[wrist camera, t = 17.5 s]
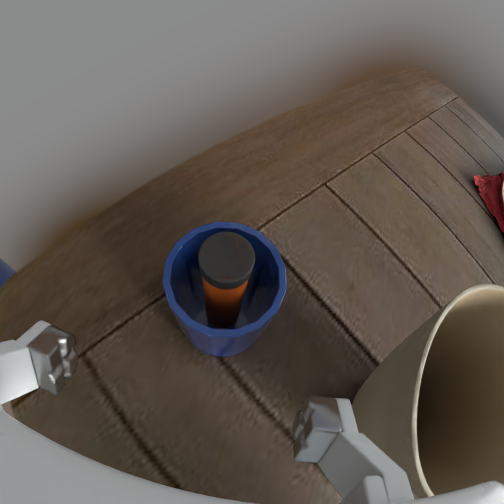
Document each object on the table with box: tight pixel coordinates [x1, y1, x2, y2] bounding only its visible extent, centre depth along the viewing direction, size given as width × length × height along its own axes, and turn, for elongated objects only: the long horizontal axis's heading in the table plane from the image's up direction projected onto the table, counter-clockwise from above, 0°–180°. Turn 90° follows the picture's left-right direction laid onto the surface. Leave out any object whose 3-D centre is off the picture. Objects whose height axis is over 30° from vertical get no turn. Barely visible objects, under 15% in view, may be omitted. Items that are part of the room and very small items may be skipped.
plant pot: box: [352, 284, 504, 498], centre depth 19 cm, size 15×15×16 cm
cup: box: [163, 222, 287, 357], centre depth 24 cm, size 8×8×10 cm
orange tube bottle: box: [198, 232, 255, 328], centre depth 23 cm, size 3×3×12 cm
